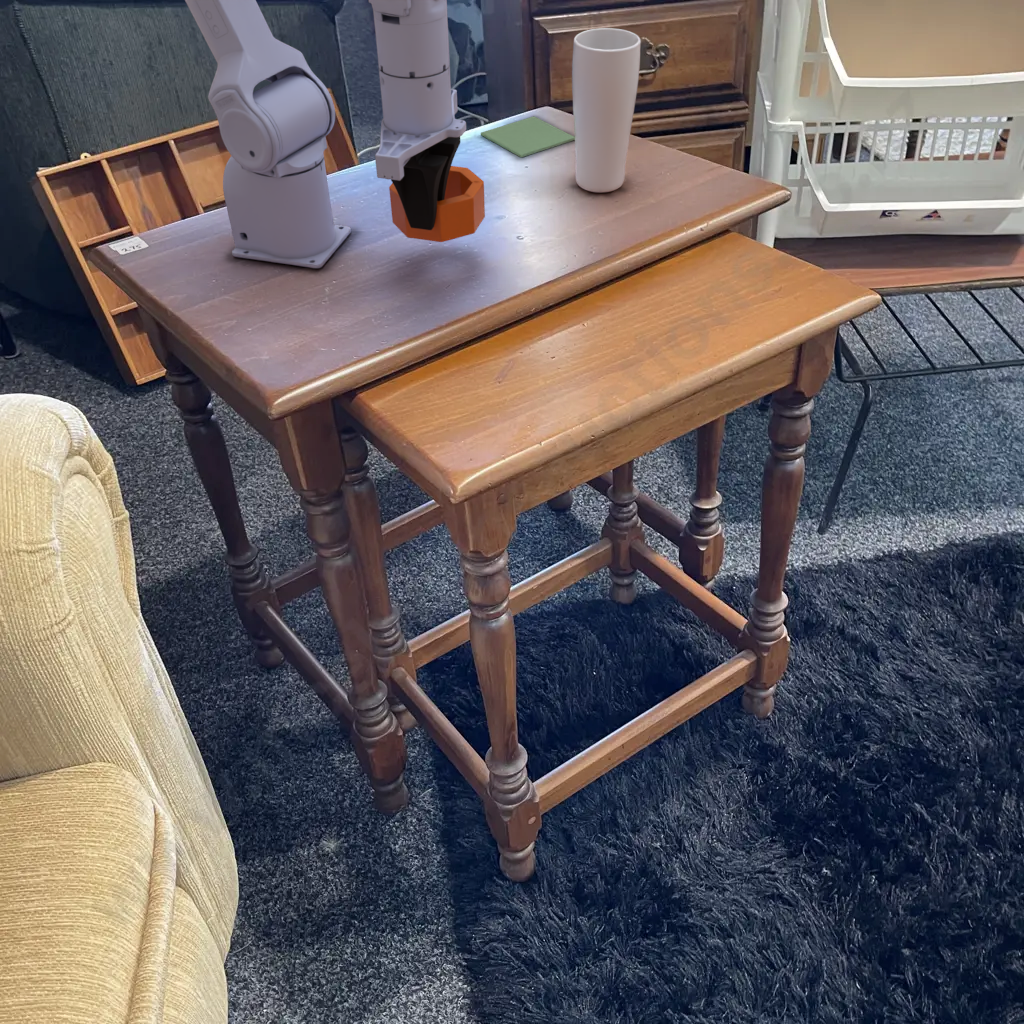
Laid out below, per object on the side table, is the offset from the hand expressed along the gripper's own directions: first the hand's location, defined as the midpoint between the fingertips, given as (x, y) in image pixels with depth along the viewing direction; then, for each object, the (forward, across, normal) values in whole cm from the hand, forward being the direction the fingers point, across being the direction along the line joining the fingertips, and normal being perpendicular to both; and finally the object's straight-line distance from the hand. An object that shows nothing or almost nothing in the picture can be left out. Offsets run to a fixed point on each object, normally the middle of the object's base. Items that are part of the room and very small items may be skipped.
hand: (425, 222), depth 88 cm
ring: (+1, +3, 0) cm, 4 cm away
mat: (+6, +34, 0) cm, 35 cm away
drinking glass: (+6, +24, -11) cm, 28 cm away
